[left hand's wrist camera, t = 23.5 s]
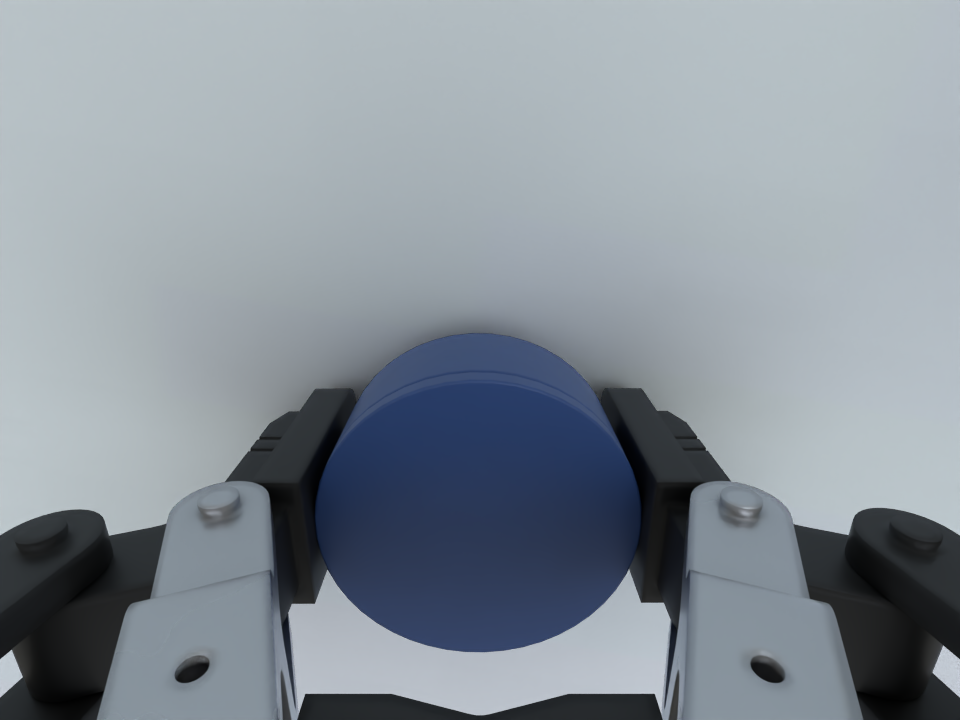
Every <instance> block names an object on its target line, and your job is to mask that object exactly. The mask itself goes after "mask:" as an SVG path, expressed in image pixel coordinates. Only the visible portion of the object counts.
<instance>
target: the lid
mask: <svg viewBox="0 0 960 720" xmlns="http://www.w3.org/2000/svg"><path fill="white" fill-rule="evenodd" d="M641 519H642V506H641V500H640V494H639V488H638V485H637V482H636V479H635V476H634V473H633V470H632V468H631V466H630V464H629V461H628V460H627V458H626V455H625V453H624V451H623V449H622V447H621V445H620V443H619V441H618V439H617V437H616V434H615V432H614V430H613V428H612V426H611V424H610V422H609V420H608V418H607V416H606V414H605V412H604V410H603V408H602V406H601V404H600V402H599V400H598V398H597V396H596V394H595V393H594V391H593V390H592V389H591V387H590V386H589V384H588V383H587V382H586V380H585V379H584V378H583V377H582V376H581V375H580V374H579V373H578V372H577V371H576V370H575V369H574V368H573V367H571V366H570V365H569V364H568V363H566V362H565V361H564V360H562V359H561V358H560V357H558V356H556V355H555V354H553V353H551V352H550V351H548V350H546V349H544V348H542V347H540V346H537V345H535V344H533V343H530V342H528V341H524V340H521V339H517V338H513V337H510V336H503V335H496V334H480V333H470V334H461V335H452V336H448V337H444V338H440V339H435V340H432V341H430V342H427V343H424V344H422V345H419V346H417V347H415V348H413V349H411V350H409V351H407V352H405V353H404V354H402V355H400V356H399V357H397V358H396V359H395V360H393V361H392V362H390V363H389V364H388V365H386V366H385V367H384V368H383V369H382V370H381V371H380V372H379V373H378V374H377V375H376V376H375V377H374V378H373V379H372V381H371V382H370V383H369V384H368V386H367V387H366V388H365V389H364V391H363V393H362V394H361V396H360V398H359V400H358V401H357V403H356V405H355V407H354V409H353V411H352V413H351V415H350V417H349V419H348V421H347V423H346V425H345V427H344V429H343V431H342V433H341V435H340V437H339V440H338V442H337V444H336V446H335V448H334V450H333V452H332V454H331V456H330V458H329V460H328V462H327V464H326V466H325V469H324V472H323V474H322V477H321V479H320V482H319V486H318V491H317V495H316V500H315V526H316V536H317V540H318V544H319V548H320V552H321V555H322V557H323V559H324V562H325V564H326V566H327V569H328V571H329V572H330V574H331V576H332V577H333V579H334V581H335V582H336V584H337V585H338V587H339V588H340V589H341V590H342V592H343V593H344V594H345V595H346V597H347V598H348V599H349V600H350V601H351V602H352V603H353V604H354V605H355V606H356V607H357V608H358V609H359V610H360V611H362V612H363V613H364V614H366V615H367V616H368V617H370V618H371V619H372V620H374V621H375V622H376V623H378V624H380V625H381V626H383V627H385V628H386V629H388V630H390V631H392V632H394V633H396V634H398V635H400V636H403V637H405V638H407V639H409V640H412V641H415V642H418V643H421V644H424V645H427V646H432V647H437V648H441V649H446V650H454V651H463V652H493V651H504V650H510V649H515V648H521V647H525V646H528V645H532V644H535V643H539V642H542V641H544V640H547V639H549V638H552V637H554V636H557V635H559V634H561V633H563V632H565V631H566V630H568V629H570V628H572V627H574V626H576V625H577V624H579V623H580V622H581V621H583V620H584V619H586V618H587V617H589V616H590V615H591V614H592V613H594V612H595V611H596V610H597V609H598V608H599V607H600V606H601V605H603V604H604V603H605V602H606V600H607V599H608V598H609V597H610V596H611V595H612V594H613V592H614V591H615V590H616V589H617V587H618V586H619V584H620V583H621V581H622V580H623V578H624V577H625V575H626V573H627V571H628V569H629V567H630V565H631V563H632V561H633V559H634V556H635V552H636V549H637V546H638V543H639V537H640V530H641Z"/></svg>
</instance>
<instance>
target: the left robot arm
mask: <svg viewBox="0 0 960 720" xmlns="http://www.w3.org/2000/svg"><path fill="white" fill-rule="evenodd" d="M355 405H356V399H355V394H354V391H353V390H352V389H315V390H314V391H313V393H312V394H311V396H310V397H309V399H308V400H307V402H306V403H305V404H304V406H303V407H302V409H301V410H300V412H288V413H286V414H284V415H283V416H281V417H280V418H278V419H276V420H275V421H273V422H271V423H270V424H269V425H268V427H267V428H266V429H265V431H264V432H263V433H262V434H261V436H260V439H259V440H257V441H256V442H255V444H254V445H253V446H252V447H251V451H248V453H247V454H246V455H245V457H244V458H243V459H242V460H241V462H240V463H239V464H238V466H237V467H236V468H235V470H234V471H233V472H232V473H231V475H230V476H229V477H228V479H227V480H226V481H225V482H224V483H219V484H214V485H211V486H208V487H205V488H202V489H200V490H198V491H196V492H194V493H192V494H190V495H188V496H187V497H185V498H183V499H182V500H181V501H180V502H178V503H177V504H176V505H175V506H174V507H173V509H172V510H171V512H170V514H169V516H168V520H167V524H164V525H161V526H156V527H152V528H147V529H142V530H137V531H132V532H126V533H121V534H116V535H111V536H109V535H108V531H107V528H106V525H105V521H104V519H103V517H102V516H101V515H100V514H98V513H96V512H94V511H90V510H66V511H60V512H55V513H51V514H47V515H43V516H40V517H38V518H35V519H32V520H29V521H27V522H25V523H22V524H20V525H18V526H16V527H14V528H12V529H10V530H9V531H7V532H5V533H4V534H2V535H0V659H1V658H2V657H3V656H4V655H6V654H7V653H8V652H9V651H10V650H12V651H13V654H14V656H15V659H16V661H17V664H18V666H19V669H20V671H21V673H22V676H23V678H22V679H20V680H19V681H18V682H17V683H16V684H15V685H14V686H13V687H12V688H10V689H9V690H8V691H7V692H6V693H5V694H4V695H3V696H2V697H0V720H960V697H958V696H957V695H956V694H955V693H954V692H953V691H952V690H951V689H950V688H948V687H947V686H946V685H945V684H944V683H943V682H942V681H941V680H940V679H938V678H937V677H936V676H935V675H934V674H933V673H932V672H933V669H934V667H935V664H936V662H937V659H938V657H939V654H940V652H941V649H942V647H943V645H944V646H945V647H946V648H947V649H948V650H950V651H951V652H952V653H953V654H954V655H956V656H957V657H958V658H959V659H960V535H958V534H956V533H955V532H953V531H952V530H950V529H948V528H946V527H945V526H943V525H941V524H939V523H936V522H934V521H932V520H930V519H927V518H925V517H922V516H919V515H916V514H913V513H909V512H905V511H900V510H895V509H887V508H871V509H866V510H862V511H860V512H858V513H857V514H856V515H855V517H854V519H853V522H852V526H851V529H850V532H849V535H844V534H839V533H834V532H829V531H824V530H818V529H813V528H808V527H803V526H799V525H794V524H793V520H792V516H791V514H790V512H789V510H788V509H787V507H786V506H785V505H784V504H783V503H782V502H780V501H779V500H778V499H777V498H775V497H773V496H772V495H770V494H768V493H766V492H764V491H762V490H760V489H758V488H755V487H752V486H749V485H746V484H741V483H736V482H731V481H730V479H729V478H728V477H727V475H726V474H725V473H724V471H723V470H722V469H721V468H720V466H719V465H718V464H717V462H716V461H715V460H714V458H713V457H712V456H711V454H710V453H709V452H708V451H706V448H705V446H704V445H703V444H702V442H701V441H700V440H699V439H697V436H696V435H695V433H694V432H693V431H692V429H691V428H690V427H689V425H688V424H687V423H686V422H684V421H683V420H681V419H680V418H678V417H676V416H675V415H673V414H672V413H670V412H668V411H657V410H656V409H655V407H654V406H653V405H652V403H651V402H650V400H649V399H648V397H647V396H646V394H645V393H644V391H643V390H642V389H641V388H605V389H604V391H603V394H602V399H601V406H602V408H603V410H604V412H605V414H606V416H607V418H608V420H609V422H610V424H611V426H612V428H613V430H614V432H615V434H616V437H617V439H618V441H619V443H620V445H621V447H622V449H623V451H624V453H625V455H626V458H627V460H628V461H629V464H630V466H631V468H632V470H633V473H634V476H635V479H636V482H637V485H638V488H639V494H640V500H641V506H642V519H641V530H640V537H639V543H638V546H637V549H636V552H635V556H634V559H633V561H632V563H631V565H630V567H629V570H630V572H631V575H632V578H633V581H634V584H635V586H636V589H637V592H638V595H639V598H640V600H641V603H664V604H665V606H666V609H667V611H668V614H669V616H670V619H671V621H670V628H669V634H668V645H667V657H666V668H665V679H664V691H663V702H662V713H661V712H660V709H659V706H658V703H657V700H656V697H655V694H567V695H563V696H559V697H555V698H551V699H547V700H544V701H540V702H536V703H532V704H528V705H524V706H520V707H516V708H513V709H509V710H505V711H501V712H497V713H493V714H489V715H471V714H467V713H463V712H459V711H455V710H451V709H447V708H444V707H440V706H436V705H432V704H428V703H424V702H420V701H416V700H413V699H409V698H405V697H401V696H397V695H393V694H305V697H304V700H303V703H302V706H301V709H300V712H299V713H298V702H297V691H296V679H295V668H294V657H293V645H292V634H291V628H290V621H289V615H288V612H289V609H290V607H291V604H315V602H316V599H317V596H318V593H319V591H320V588H321V585H322V582H323V580H324V577H325V574H326V571H327V566H326V564H325V562H324V559H323V557H322V555H321V552H320V548H319V544H318V540H317V536H316V526H315V500H316V495H317V491H318V486H319V482H320V479H321V477H322V474H323V472H324V469H325V466H326V464H327V462H328V460H329V458H330V456H331V454H332V452H333V450H334V448H335V446H336V444H337V442H338V440H339V437H340V435H341V433H342V431H343V429H344V427H345V425H346V423H347V421H348V419H349V417H350V415H351V413H352V411H353V409H354V407H355Z"/></svg>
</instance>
